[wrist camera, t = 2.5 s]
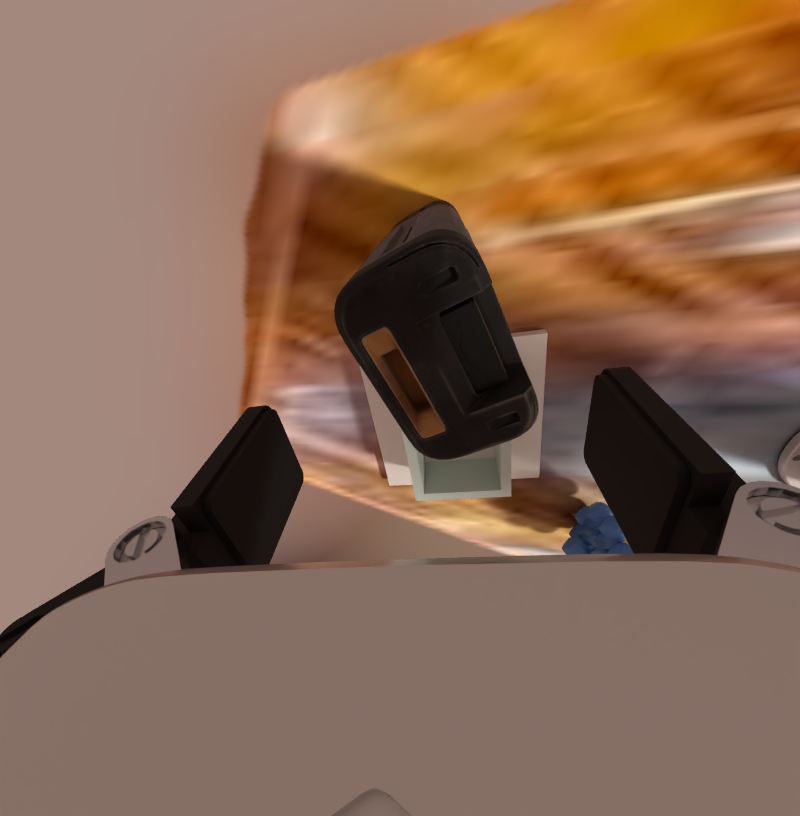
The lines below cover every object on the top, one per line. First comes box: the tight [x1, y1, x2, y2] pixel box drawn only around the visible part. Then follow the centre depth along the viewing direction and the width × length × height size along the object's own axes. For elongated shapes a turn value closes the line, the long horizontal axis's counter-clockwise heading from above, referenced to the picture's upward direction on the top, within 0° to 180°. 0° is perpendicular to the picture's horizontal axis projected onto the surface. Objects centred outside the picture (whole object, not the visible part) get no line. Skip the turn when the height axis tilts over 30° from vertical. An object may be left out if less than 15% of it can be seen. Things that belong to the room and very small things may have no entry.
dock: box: [359, 329, 548, 501], centre depth 37 cm, size 18×18×6 cm
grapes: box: [562, 502, 634, 555], centre depth 40 cm, size 12×7×12 cm, turn 1°
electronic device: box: [334, 200, 539, 460], centre depth 22 cm, size 9×6×20 cm, turn 29°
